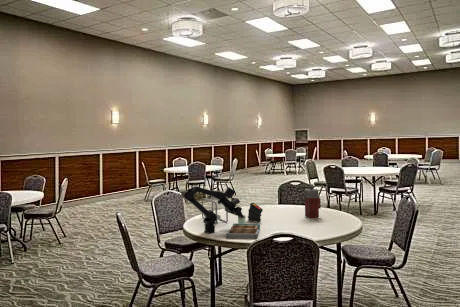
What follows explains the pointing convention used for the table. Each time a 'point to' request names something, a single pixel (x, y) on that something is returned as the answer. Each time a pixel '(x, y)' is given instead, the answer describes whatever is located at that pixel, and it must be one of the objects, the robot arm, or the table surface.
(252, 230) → the tray
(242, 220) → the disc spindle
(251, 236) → the grey shallow box
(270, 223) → the table surface
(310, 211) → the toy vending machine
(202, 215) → the newton's cradle
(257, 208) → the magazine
